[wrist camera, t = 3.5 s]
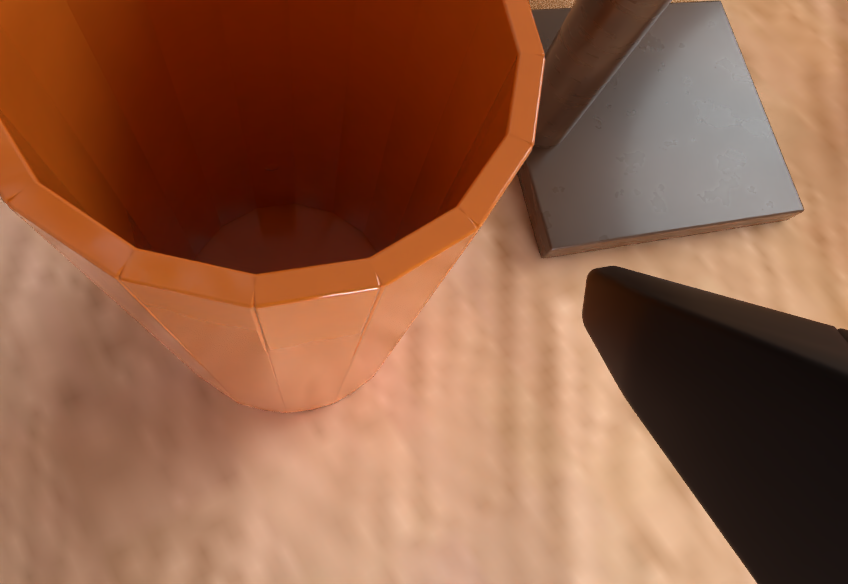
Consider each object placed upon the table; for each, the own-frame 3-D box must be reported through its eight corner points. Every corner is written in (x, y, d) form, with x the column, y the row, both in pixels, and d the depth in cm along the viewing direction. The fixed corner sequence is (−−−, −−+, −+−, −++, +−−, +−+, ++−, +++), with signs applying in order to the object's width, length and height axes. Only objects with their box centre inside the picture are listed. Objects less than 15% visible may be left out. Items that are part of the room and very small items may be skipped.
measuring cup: (420, 387, 20) (608, 251, 7) (190, 434, 18) (-54, 357, 6) (357, 96, 22) (420, -356, 10) (151, 112, 21) (-72, -407, 8)
